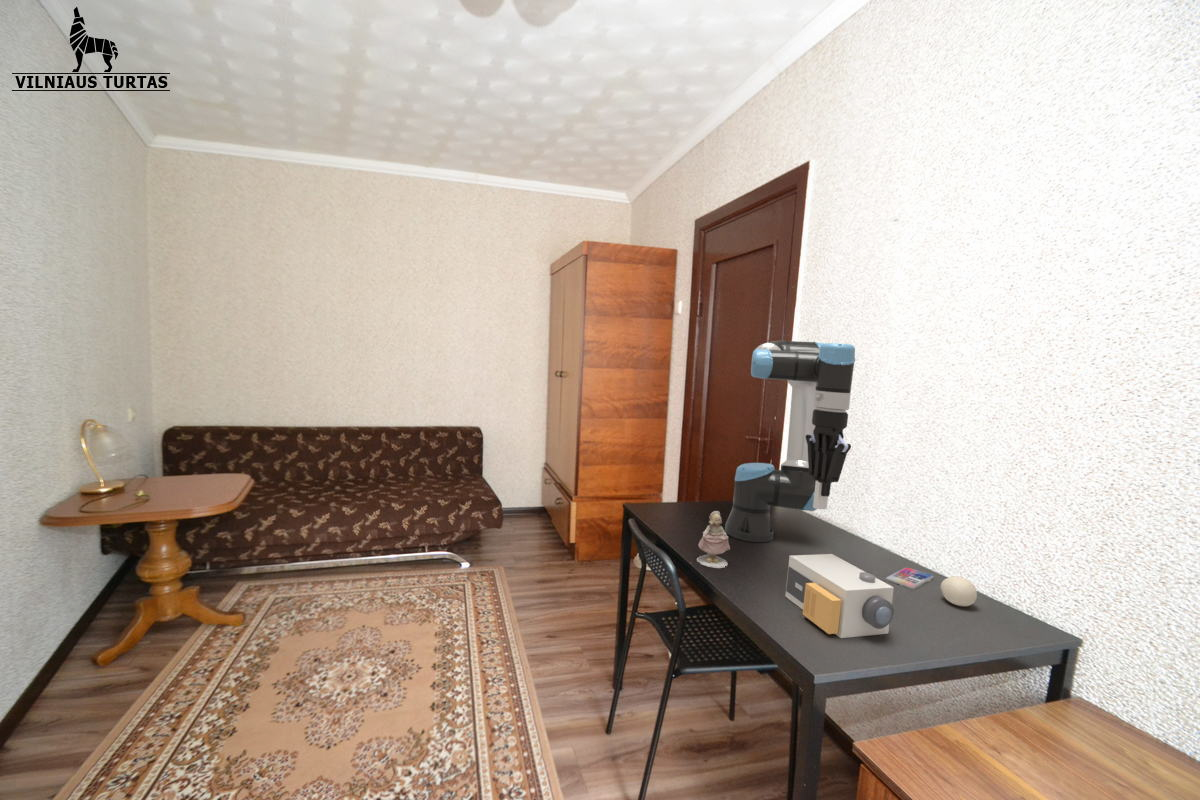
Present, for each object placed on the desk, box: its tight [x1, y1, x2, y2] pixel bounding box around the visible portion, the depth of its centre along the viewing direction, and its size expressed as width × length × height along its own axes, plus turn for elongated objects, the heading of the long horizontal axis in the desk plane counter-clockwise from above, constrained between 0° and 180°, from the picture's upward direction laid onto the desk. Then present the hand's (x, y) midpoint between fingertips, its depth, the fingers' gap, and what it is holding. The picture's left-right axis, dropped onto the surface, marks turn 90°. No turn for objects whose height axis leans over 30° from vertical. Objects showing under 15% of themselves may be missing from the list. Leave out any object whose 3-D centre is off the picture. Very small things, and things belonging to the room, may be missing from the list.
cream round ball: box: [940, 576, 978, 607], centre depth 120 cm, size 7×7×7 cm
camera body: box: [785, 553, 895, 639], centre depth 109 cm, size 21×12×11 cm, turn 16°
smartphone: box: [884, 567, 935, 590], centre depth 134 cm, size 7×1×15 cm
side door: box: [802, 583, 841, 635], centre depth 104 cm, size 8×2×7 cm, turn 16°
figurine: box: [689, 510, 731, 569], centre depth 136 cm, size 11×10×15 cm
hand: (819, 508), depth 118 cm, fingers closed
